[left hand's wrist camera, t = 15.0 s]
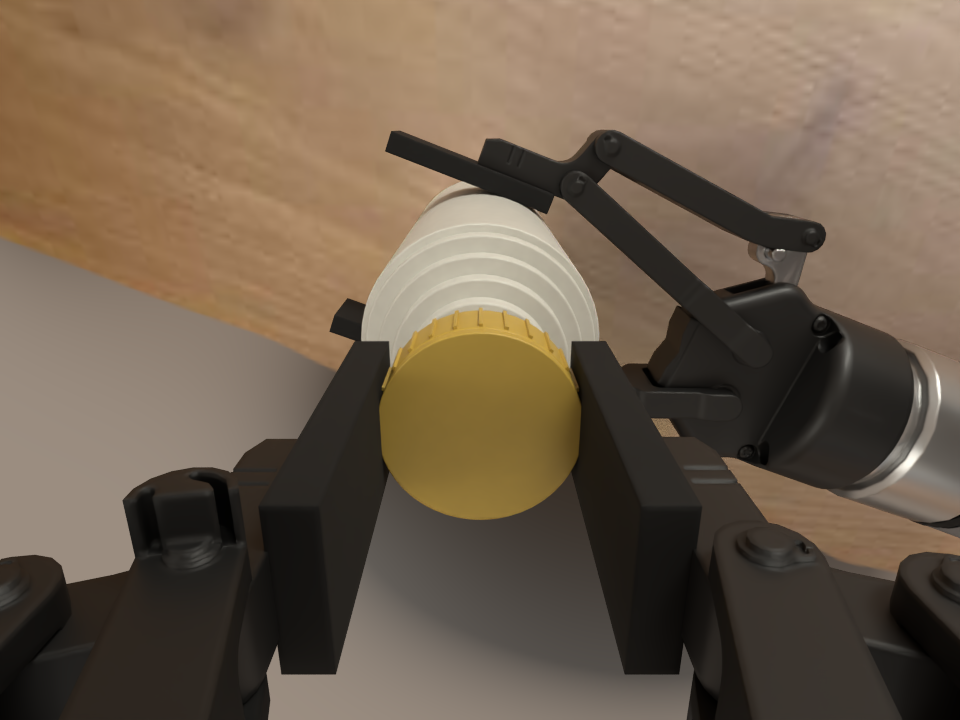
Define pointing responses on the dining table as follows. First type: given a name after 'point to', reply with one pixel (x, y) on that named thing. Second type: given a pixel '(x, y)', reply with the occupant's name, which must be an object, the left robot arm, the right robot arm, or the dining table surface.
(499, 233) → the bottle
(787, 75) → the dining table surface
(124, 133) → the dining table surface
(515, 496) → the cap
